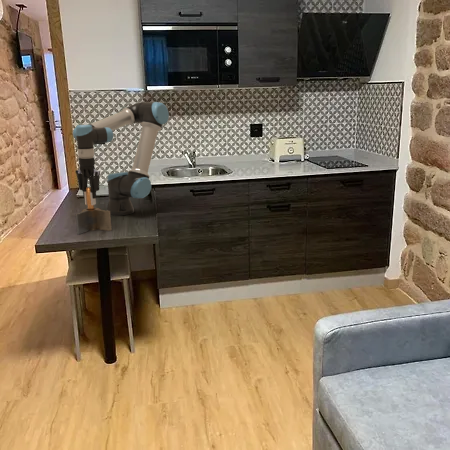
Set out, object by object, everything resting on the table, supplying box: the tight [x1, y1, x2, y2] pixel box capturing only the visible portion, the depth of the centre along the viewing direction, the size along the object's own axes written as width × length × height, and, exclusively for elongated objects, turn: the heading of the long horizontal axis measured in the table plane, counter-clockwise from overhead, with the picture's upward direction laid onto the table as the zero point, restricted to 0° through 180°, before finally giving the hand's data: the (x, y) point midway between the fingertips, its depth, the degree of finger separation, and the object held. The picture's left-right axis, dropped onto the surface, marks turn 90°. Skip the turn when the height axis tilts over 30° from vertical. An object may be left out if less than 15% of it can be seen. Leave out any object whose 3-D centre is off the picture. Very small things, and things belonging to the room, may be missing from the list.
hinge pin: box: [86, 186, 95, 211], centre depth 235 cm, size 3×3×19 cm
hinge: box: [75, 207, 112, 235], centre depth 232 cm, size 14×14×10 cm
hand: (90, 204), depth 235 cm, fingers closed on hinge pin, 3 cm apart
